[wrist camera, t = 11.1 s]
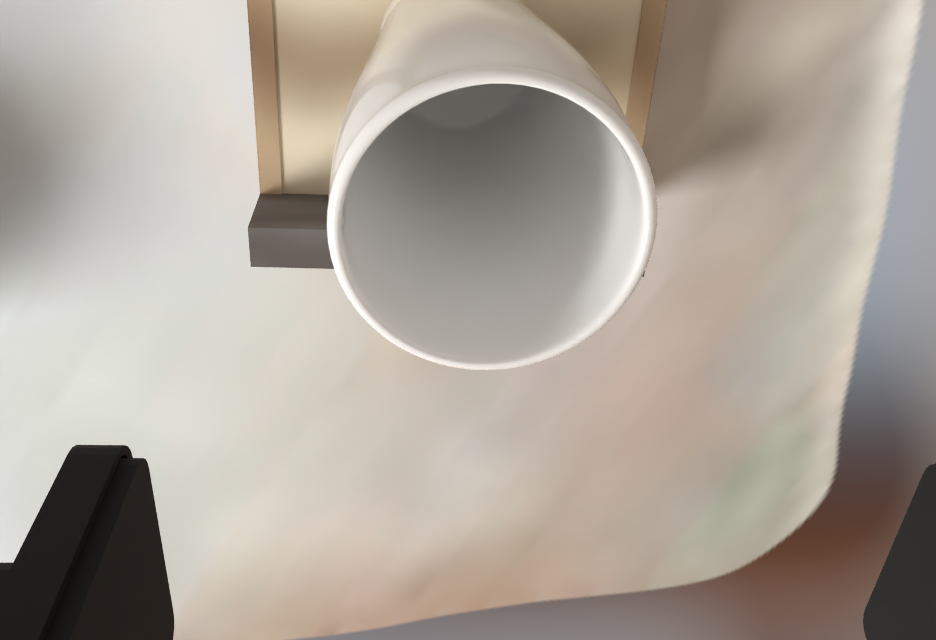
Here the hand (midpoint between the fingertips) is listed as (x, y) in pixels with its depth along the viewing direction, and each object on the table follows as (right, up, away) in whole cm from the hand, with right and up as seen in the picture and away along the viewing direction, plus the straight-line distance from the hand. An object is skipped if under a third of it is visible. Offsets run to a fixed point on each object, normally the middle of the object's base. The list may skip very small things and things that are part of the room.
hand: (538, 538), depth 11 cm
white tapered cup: (-1, +12, +20) cm, 23 cm away
